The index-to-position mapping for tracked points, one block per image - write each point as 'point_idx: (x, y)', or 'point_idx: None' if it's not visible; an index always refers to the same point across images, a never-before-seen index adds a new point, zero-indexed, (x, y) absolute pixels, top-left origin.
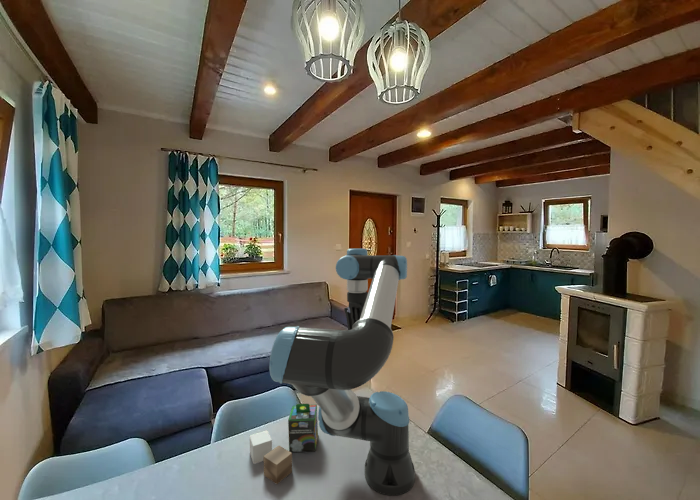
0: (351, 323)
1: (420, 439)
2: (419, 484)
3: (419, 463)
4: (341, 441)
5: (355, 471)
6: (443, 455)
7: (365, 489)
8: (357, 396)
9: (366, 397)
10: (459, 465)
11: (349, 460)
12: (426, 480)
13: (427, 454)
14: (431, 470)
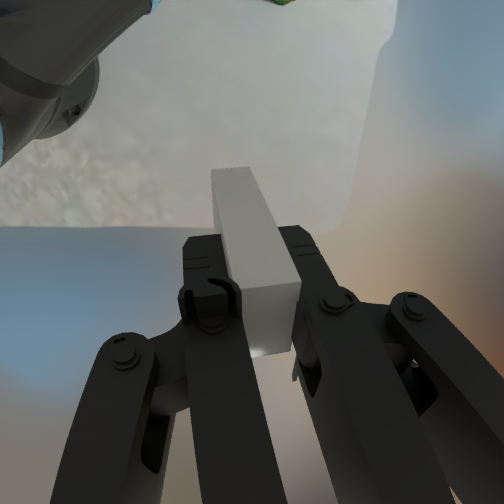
0: (466, 449)
1: (99, 210)
2: None
3: (42, 158)
4: (211, 37)
5: None
6: (41, 215)
7: None
8: (30, 23)
9: (5, 62)
10: (13, 220)
11: None
12: None
13: (55, 190)
14: (19, 166)
